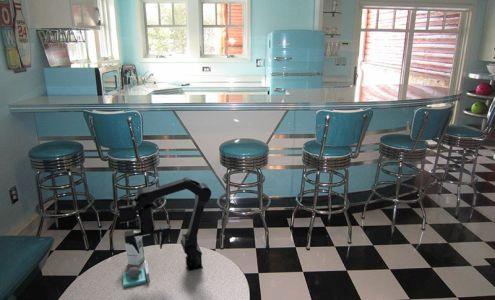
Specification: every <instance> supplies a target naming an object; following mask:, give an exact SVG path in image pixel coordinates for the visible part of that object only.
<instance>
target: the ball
mask: <svg viewBox="0 0 495 300" xmlns="http://www.w3.org/2000/svg"><path fill="white" fill-rule="evenodd" d="M139 269H140V268H139V267H137V266H133V267H130V268H129V269H128V271H127V272H128V276H129V278H131V279H136V278H137V277H138V276H139V275H140V270H139Z"/></svg>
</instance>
